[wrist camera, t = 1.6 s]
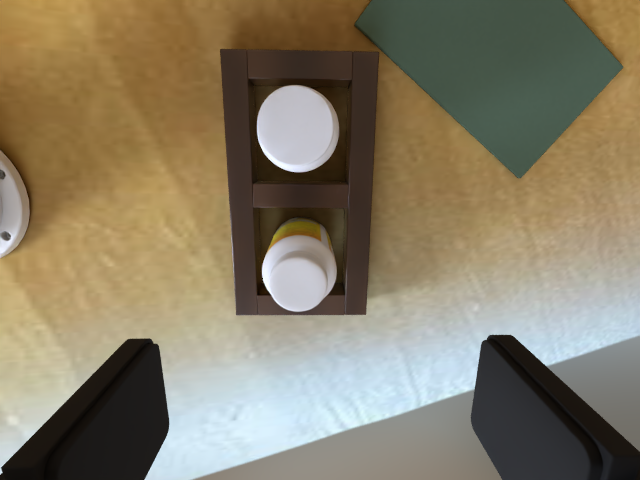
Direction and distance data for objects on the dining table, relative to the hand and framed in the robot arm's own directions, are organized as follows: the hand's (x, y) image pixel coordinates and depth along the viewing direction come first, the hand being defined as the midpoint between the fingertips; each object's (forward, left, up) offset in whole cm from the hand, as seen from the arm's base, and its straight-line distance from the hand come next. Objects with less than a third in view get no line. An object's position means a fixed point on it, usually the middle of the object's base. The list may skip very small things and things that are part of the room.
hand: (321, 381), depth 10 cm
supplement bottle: (0, -3, -23) cm, 23 cm away
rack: (-3, +1, -23) cm, 23 cm away
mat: (+2, +21, -23) cm, 31 cm away
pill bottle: (-6, +5, -23) cm, 24 cm away
